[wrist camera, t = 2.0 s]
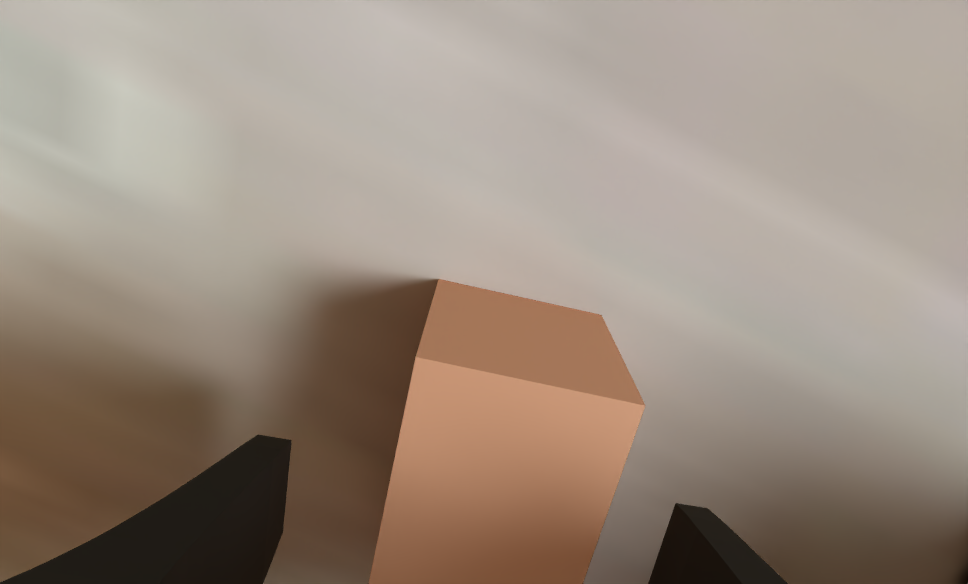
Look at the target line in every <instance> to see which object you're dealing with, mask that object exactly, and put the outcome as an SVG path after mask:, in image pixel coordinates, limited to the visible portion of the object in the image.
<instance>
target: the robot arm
mask: <svg viewBox="0 0 968 584" xmlns="http://www.w3.org/2000/svg"><path fill="white" fill-rule="evenodd" d="M290 450H291V440H287V439H281V438H275V437H269V436H263V435H257V436H255V437H254V438H252V439H251V440H249V441H248V442H246V443H245V444H243V445H242V446H240V447H239V448H237V449H236V450H234V451H233V452H232V453H230V454H229V455H227V456H226V457H224V458H223V459H221V460H220V461H219V462H217V463H216V464H214V465H213V466H211V467H210V468H208V469H207V470H205V471H204V472H203V473H201V474H200V475H198V476H197V477H195V478H193V479H192V480H190V481H189V482H187V483H186V484H184V485H183V486H181V487H180V488H178V489H177V490H175V491H174V492H172V493H171V494H169V495H168V496H166V497H164V498H163V499H161V500H160V501H158V502H156V503H155V504H153V505H151V506H150V507H148V508H146V509H145V510H143V511H141V512H140V513H138V514H136V515H134V516H133V517H131V518H129V519H128V520H126V521H124V522H123V523H121V524H119V525H118V526H116V527H114V528H112V529H110V530H109V531H107V532H105V533H103V534H101V535H99V536H98V537H96V538H94V539H92V540H90V541H88V542H86V543H84V544H82V545H80V546H78V547H76V548H74V549H72V550H70V551H68V552H66V553H64V554H62V555H60V556H58V557H56V558H54V559H52V560H50V561H48V562H46V563H44V564H42V565H39V566H37V567H35V568H33V569H31V570H28V571H26V572H24V573H21V574H19V575H17V576H14V577H12V578H10V579H7V580H5V581H3V582H0V584H263V582H264V580H265V577H266V575H267V572H268V569H269V567H270V564H271V562H272V559H273V557H274V554H275V551H276V549H277V546H278V543H279V541H280V538H281V535H282V533H283V524H284V513H285V503H286V492H287V482H288V471H289V461H290ZM648 584H788V583H787V582H786V581H784V580H783V579H782V578H781V577H780V576H779V575H778V574H777V573H776V572H775V571H774V570H773V569H772V568H771V567H770V566H769V565H768V564H767V563H766V562H765V561H764V560H762V559H761V558H760V557H759V556H758V555H757V554H756V553H755V552H754V551H753V550H752V549H751V548H750V547H749V546H748V545H747V544H746V543H745V542H744V541H743V540H742V539H741V538H740V537H739V536H738V535H736V534H735V533H734V532H733V531H732V530H731V529H730V528H729V527H728V526H727V525H726V524H725V523H724V522H723V521H721V520H720V519H719V518H718V517H717V516H716V515H715V514H713V513H712V512H711V511H710V510H709V509H707V508H702V507H696V506H690V505H684V504H678V503H676V504H675V507H674V510H673V513H672V516H671V519H670V522H669V524H668V527H667V530H666V533H665V536H664V539H663V542H662V545H661V548H660V551H659V554H658V557H657V560H656V563H655V566H654V569H653V571H652V574H651V577H650V580H649V583H648ZM967 584H968V583H967Z"/></svg>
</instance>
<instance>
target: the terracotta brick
mask: <svg viewBox="0 0 968 584" xmlns="http://www.w3.org/2000/svg"><path fill="white" fill-rule="evenodd" d="M644 408H645V404H644V402H643V400H642V398H641V396H640V394H639V392H638V389H637V387H636V385H635V383H634V381H633V379H632V377H631V375H630V373H629V371H628V369H627V367H626V365H625V363H624V361H623V359H622V357H621V354H620V352H619V350H618V348H617V346H616V344H615V342H614V340H613V338H612V336H611V334H610V332H609V330H608V328H607V326H606V324H605V322H604V319H603V317H602V315H599V314H595V313H590V312H586V311H581V310H576V309H572V308H567V307H563V306H558V305H554V304H549V303H545V302H540V301H536V300H531V299H527V298H522V297H518V296H513V295H509V294H504V293H499V292H495V291H490V290H486V289H481V288H477V287H472V286H468V285H463V284H459V283H454V282H450V281H445V280H441V279H439V280H438V283H437V286H436V290H435V293H434V297H433V300H432V303H431V307H430V310H429V313H428V317H427V320H426V324H425V327H424V330H423V334H422V337H421V341H420V344H419V347H418V351H417V354H416V358H415V363H414V367H413V372H412V377H411V382H410V387H409V391H408V396H407V401H406V406H405V411H404V415H403V420H402V425H401V430H400V435H399V439H398V444H397V449H396V454H395V458H394V463H393V468H392V473H391V478H390V482H389V487H388V492H387V497H386V502H385V506H384V511H383V516H382V521H381V526H380V530H379V535H378V540H377V545H376V550H375V554H374V559H373V564H372V569H371V574H370V578H369V583H368V584H583V582H584V579H585V576H586V573H587V570H588V567H589V565H590V562H591V559H592V556H593V553H594V550H595V548H596V545H597V542H598V539H599V536H600V533H601V530H602V528H603V525H604V522H605V519H606V516H607V513H608V511H609V508H610V505H611V502H612V499H613V496H614V494H615V491H616V488H617V485H618V482H619V479H620V477H621V474H622V471H623V468H624V465H625V462H626V459H627V457H628V454H629V451H630V448H631V445H632V442H633V440H634V437H635V434H636V431H637V428H638V425H639V423H640V420H641V417H642V414H643V411H644Z"/></svg>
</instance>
